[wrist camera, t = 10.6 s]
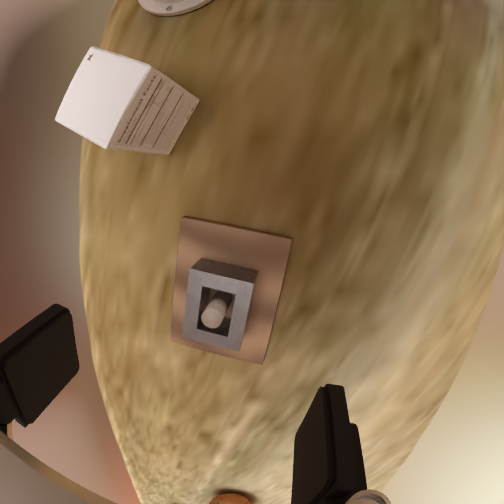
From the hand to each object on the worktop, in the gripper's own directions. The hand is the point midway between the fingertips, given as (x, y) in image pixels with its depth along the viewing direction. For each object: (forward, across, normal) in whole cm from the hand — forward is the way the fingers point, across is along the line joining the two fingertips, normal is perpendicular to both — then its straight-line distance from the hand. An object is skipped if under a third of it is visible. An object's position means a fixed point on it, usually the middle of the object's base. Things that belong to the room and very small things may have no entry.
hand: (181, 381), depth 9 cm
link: (+22, +2, +8) cm, 24 cm away
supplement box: (+24, +14, -11) cm, 30 cm away
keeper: (+23, +2, +8) cm, 25 cm away
